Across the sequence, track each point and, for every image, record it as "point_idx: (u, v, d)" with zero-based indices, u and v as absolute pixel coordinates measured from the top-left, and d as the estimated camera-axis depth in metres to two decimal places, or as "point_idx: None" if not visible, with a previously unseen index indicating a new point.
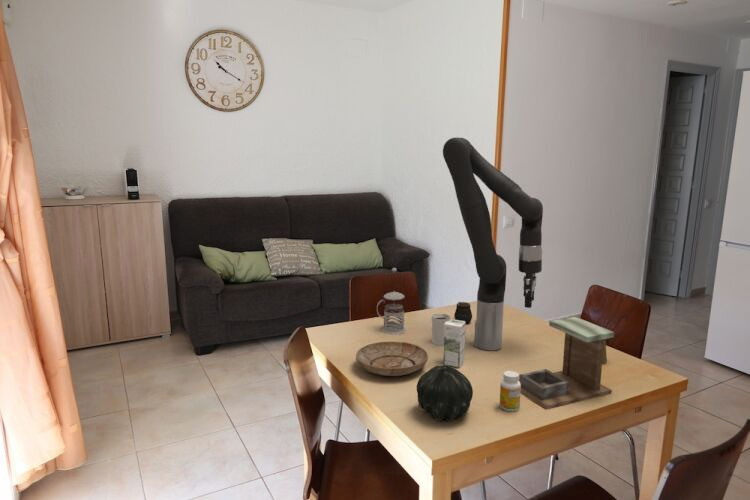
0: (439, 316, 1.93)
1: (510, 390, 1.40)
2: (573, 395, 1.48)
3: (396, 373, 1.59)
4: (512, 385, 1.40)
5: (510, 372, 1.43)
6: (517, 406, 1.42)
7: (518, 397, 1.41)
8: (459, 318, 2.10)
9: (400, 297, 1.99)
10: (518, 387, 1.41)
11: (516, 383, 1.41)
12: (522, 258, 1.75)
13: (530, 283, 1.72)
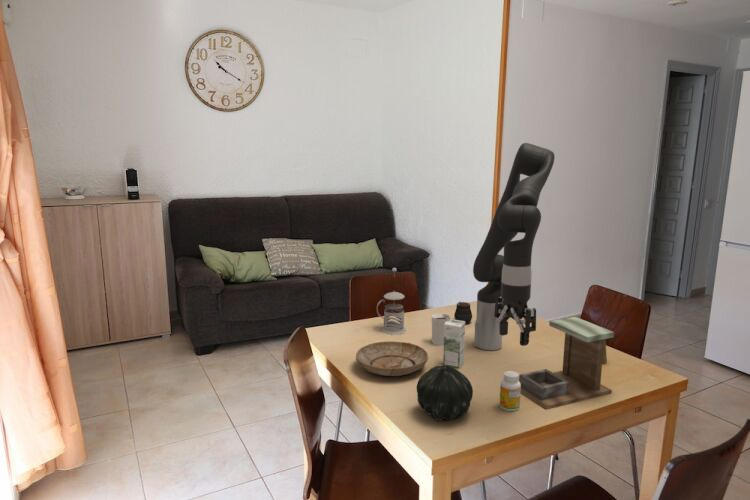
0: (439, 316, 1.93)
1: (510, 390, 1.40)
2: (573, 395, 1.48)
3: (396, 373, 1.59)
4: (512, 385, 1.40)
5: (510, 372, 1.43)
6: (517, 406, 1.42)
7: (518, 397, 1.41)
8: (459, 318, 2.10)
9: (400, 297, 1.99)
10: (518, 387, 1.41)
11: (516, 383, 1.41)
12: None
13: None
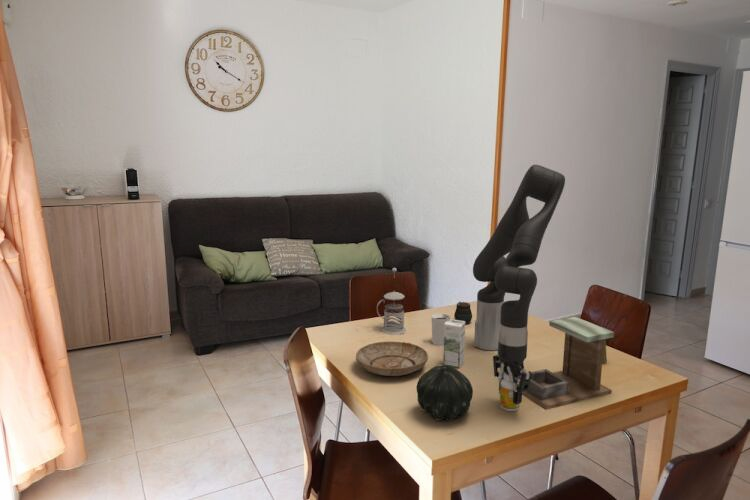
0: (439, 316, 1.93)
1: (510, 390, 1.40)
2: (573, 395, 1.48)
3: (396, 373, 1.59)
4: (512, 385, 1.40)
5: None
6: (517, 406, 1.42)
7: None
8: (459, 318, 2.10)
9: (400, 297, 1.99)
10: None
11: None
12: None
13: None
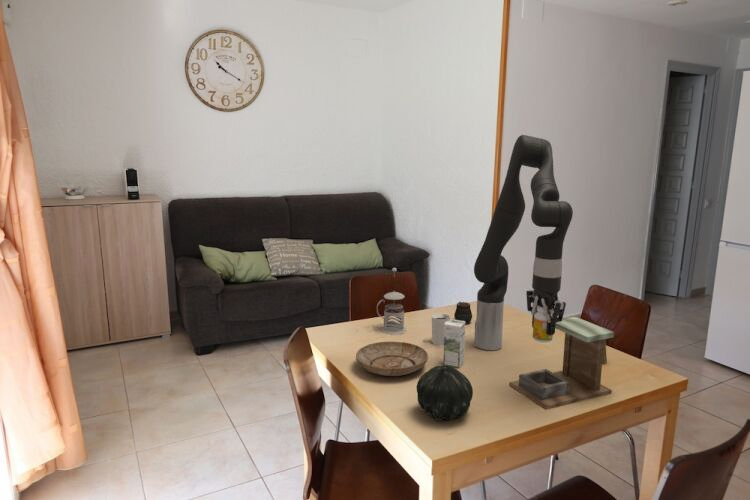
0: (439, 316, 1.93)
1: (544, 322, 1.45)
2: (573, 395, 1.48)
3: (396, 373, 1.59)
4: (546, 317, 1.45)
5: None
6: (550, 338, 1.46)
7: None
8: (459, 318, 2.10)
9: (400, 297, 1.99)
10: None
11: None
12: None
13: None
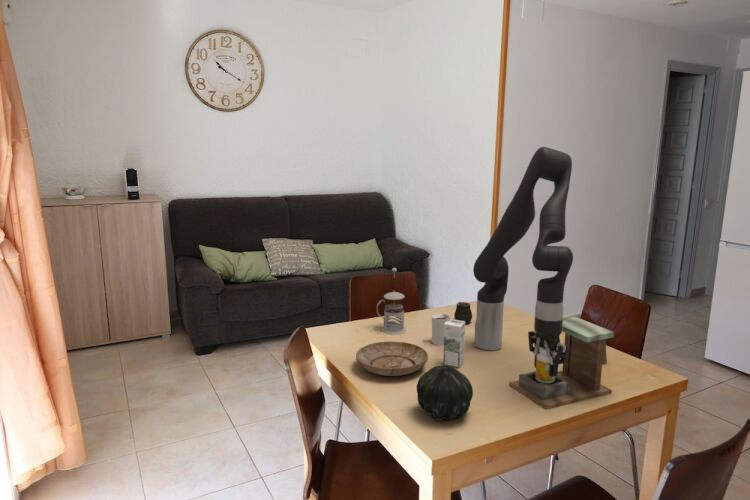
0: (439, 316, 1.93)
1: (547, 363, 1.48)
2: (573, 395, 1.48)
3: (396, 373, 1.59)
4: None
5: None
6: (553, 378, 1.49)
7: None
8: (459, 318, 2.10)
9: (400, 297, 1.99)
10: None
11: None
12: None
13: None
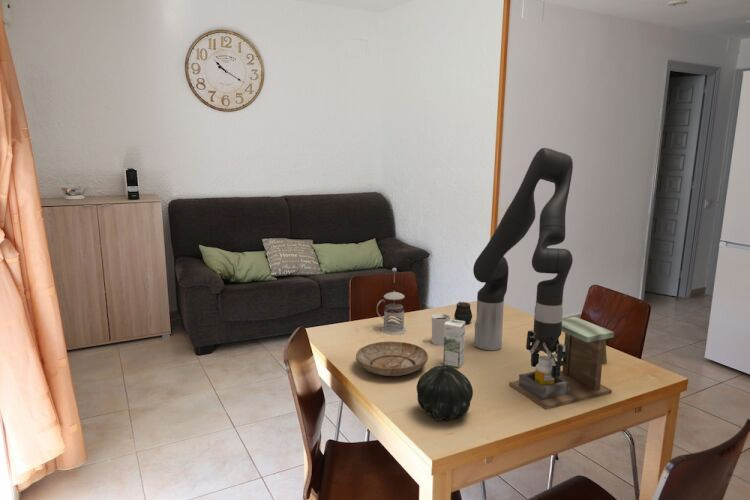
0: (439, 316, 1.93)
1: (546, 374, 1.48)
2: (573, 395, 1.48)
3: (396, 373, 1.59)
4: (547, 369, 1.48)
5: (545, 357, 1.51)
6: None
7: (553, 380, 1.49)
8: (459, 318, 2.10)
9: (400, 297, 1.99)
10: None
11: (551, 367, 1.49)
12: None
13: None
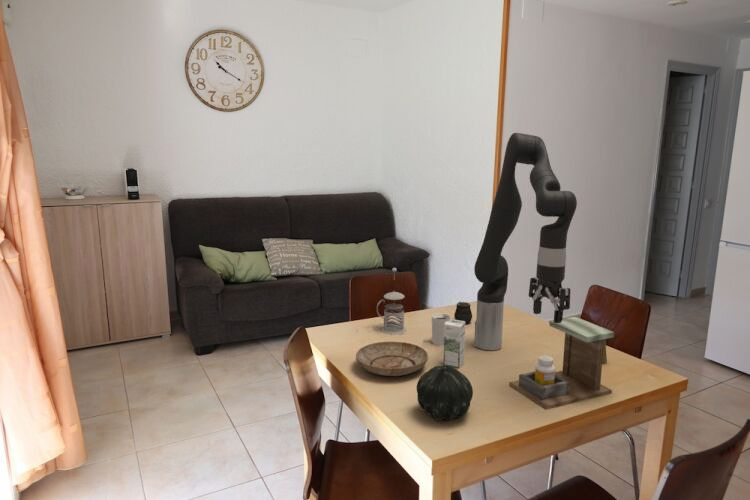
0: (439, 316, 1.92)
1: (545, 374, 1.48)
2: (573, 395, 1.48)
3: (396, 373, 1.59)
4: (547, 369, 1.48)
5: (544, 357, 1.51)
6: None
7: (553, 380, 1.49)
8: (459, 318, 2.10)
9: (400, 297, 1.99)
10: (553, 370, 1.48)
11: (551, 367, 1.49)
12: None
13: None
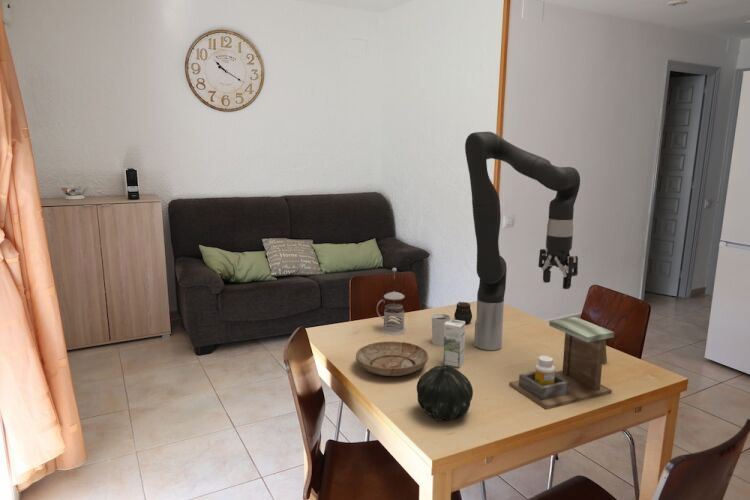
0: (439, 316, 1.92)
1: (545, 374, 1.48)
2: (573, 395, 1.48)
3: (396, 373, 1.59)
4: (547, 369, 1.48)
5: (544, 357, 1.51)
6: None
7: (553, 380, 1.49)
8: (459, 318, 2.10)
9: (400, 297, 1.99)
10: (553, 371, 1.48)
11: (551, 367, 1.49)
12: None
13: None
